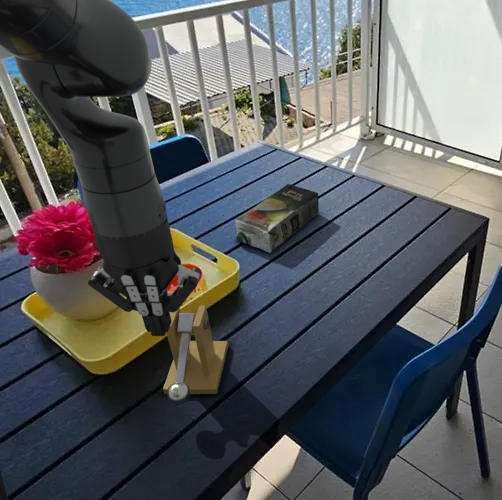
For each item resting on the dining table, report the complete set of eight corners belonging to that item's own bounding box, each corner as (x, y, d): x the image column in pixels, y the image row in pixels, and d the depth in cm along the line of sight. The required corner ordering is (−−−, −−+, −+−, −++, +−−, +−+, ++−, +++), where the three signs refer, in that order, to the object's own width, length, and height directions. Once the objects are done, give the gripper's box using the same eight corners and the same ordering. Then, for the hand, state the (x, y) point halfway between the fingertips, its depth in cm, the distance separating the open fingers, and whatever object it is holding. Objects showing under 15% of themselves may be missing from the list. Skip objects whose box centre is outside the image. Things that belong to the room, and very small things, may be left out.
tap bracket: (216, 394, 77) (205, 340, 70) (164, 394, 76) (147, 340, 69) (228, 345, 85) (219, 293, 78) (181, 345, 84) (167, 292, 77)
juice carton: (269, 256, 105) (266, 232, 101) (233, 243, 109) (229, 219, 105) (320, 214, 119) (320, 192, 116) (287, 204, 123) (285, 181, 120)
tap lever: (191, 406, 72) (185, 403, 69) (169, 406, 71) (162, 403, 68) (202, 318, 77) (196, 312, 74) (181, 317, 77) (175, 312, 74)
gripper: (49, 234, 50) (96, 353, 60) (182, 235, 50) (206, 353, 60) (80, 196, 56) (118, 310, 66) (199, 198, 56) (218, 311, 67)
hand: (160, 331), depth 63 cm, fingers closed
